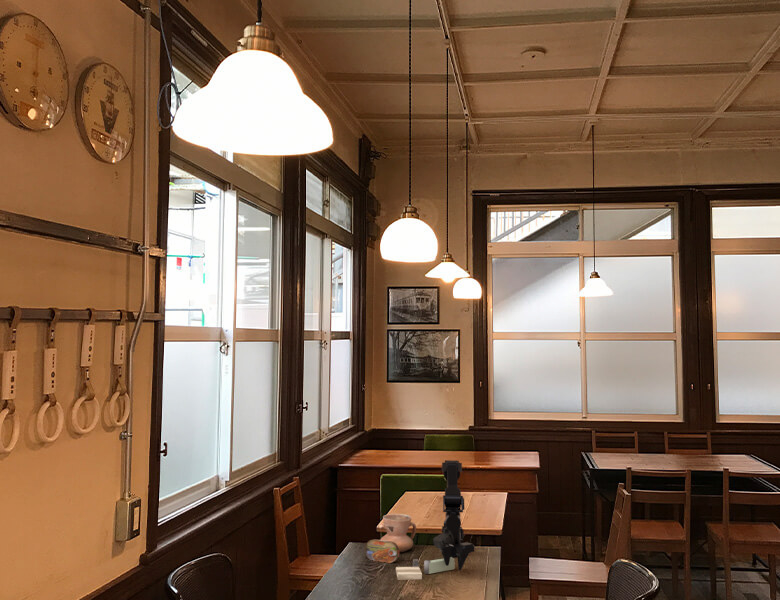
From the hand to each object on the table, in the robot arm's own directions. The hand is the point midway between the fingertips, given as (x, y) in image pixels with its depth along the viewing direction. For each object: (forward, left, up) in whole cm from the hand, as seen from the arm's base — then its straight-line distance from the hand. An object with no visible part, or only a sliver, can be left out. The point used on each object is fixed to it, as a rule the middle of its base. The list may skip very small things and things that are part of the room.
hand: (453, 567), depth 270 cm
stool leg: (-5, -5, -2) cm, 7 cm away
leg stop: (-10, -13, -3) cm, 17 cm away
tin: (-20, -26, -3) cm, 33 cm away
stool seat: (0, -17, -3) cm, 18 cm away
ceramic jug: (-36, -18, -3) cm, 41 cm away
